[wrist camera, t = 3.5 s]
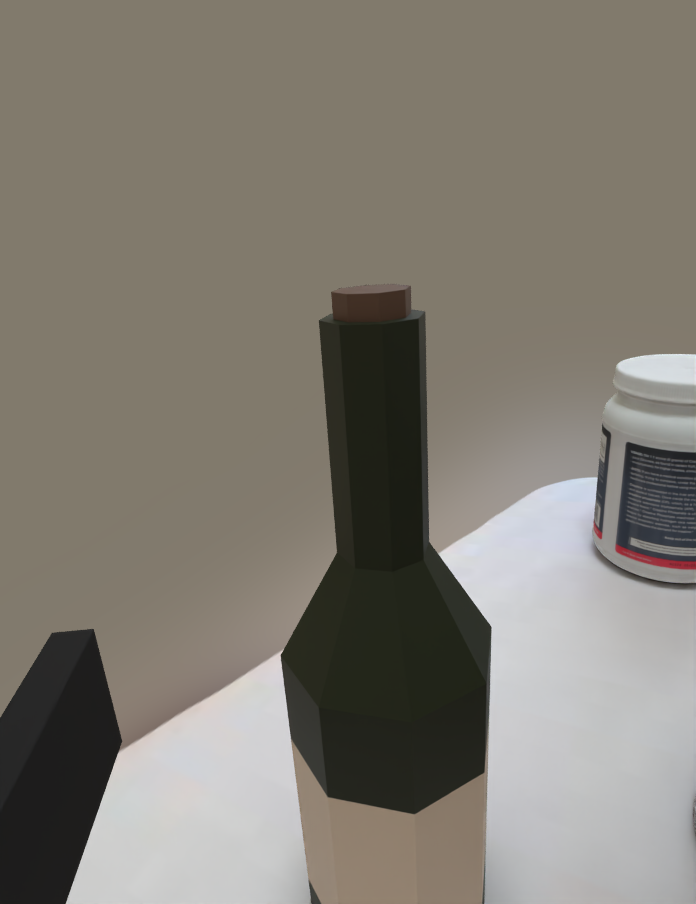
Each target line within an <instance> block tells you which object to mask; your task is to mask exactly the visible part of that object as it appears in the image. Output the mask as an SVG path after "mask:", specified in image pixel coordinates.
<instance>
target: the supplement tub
mask: <svg viewBox="0 0 696 904" xmlns="http://www.w3.org/2000/svg"><path fill="white" fill-rule="evenodd" d="M613 385H614V386H615V387H616V388H617V389H618V393H616V394H615V395H614V396H612V398H610V400H609V401H608V402H607V404H606V406H605V408H604V413H603V415H602V419H603V423H602V435H601V446H600V447H601V448H600V459H599V470H598V482H597V492H596V503H595V514H594V526H593V530H592V533H593V539H594V542H595V544H596V546H597V548H598V549H599V551H600V552H601V553H602V554H603V555H604V556H605V557H606V558H607V559H608V560H609V561H611V562H612V563H614V564H615V565H617V566H619V567H620V568H622V569H624V570H627V571H629V572H631V573H634V574H636V575H639V576H642V577H646V578H649V579H654V580H658V581H664V582H671V583H696V355H690V354H663V355H662V354H660V355H647V356H639V357H634V358H629V359H626V360H623V361H622V362H620V363H619V364H618V365H617V366H616V371H615V378H614V379H613Z"/></svg>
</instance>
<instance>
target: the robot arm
mask: <svg viewBox="0 0 696 904" xmlns="http://www.w3.org/2000/svg"><path fill="white" fill-rule="evenodd" d="M121 743H122V739H121V735H120V731H119V727H118V723H117V720H116V715H115V711H114V707H113V703H112V699H111V695H110V691H109V688H108V684H107V680H106V676H105V672H104V668H103V664H102V660H101V656H100V652H99V648H98V645H97V640H96V636H95V632H94V629H88V630H77V631H67V632H57V633H52V634H51V636H50V637H49V639H48V640H47V642H46V644H45V645H44V647H43V649H42V650H41V652H40V654H39V655H38V657H37V659H36V660H35V662H34V663H33V665H32V667H31V668H30V670H29V672H28V673H27V675H26V677H25V678H24V680H23V681H22V683H21V685H20V686H19V688H18V690H17V691H16V693H15V695H14V696H13V698H12V700H11V701H10V703H9V704H8V706H7V708H6V709H5V711H4V713H3V714H2V716H1V717H0V904H66V901H67V898H68V895H69V892H70V890H71V887H72V884H73V881H74V878H75V875H76V872H77V869H78V867H79V864H80V861H81V858H82V855H83V852H84V849H85V846H86V844H87V841H88V838H89V835H90V832H91V829H92V826H93V823H94V821H95V818H96V815H97V812H98V809H99V806H100V803H101V800H102V798H103V795H104V792H105V789H106V786H107V783H108V780H109V777H110V775H111V772H112V769H113V766H114V763H115V760H116V757H117V754H118V752H119V749H120V746H121ZM693 818H694V828H695V834H696V796H695V801H694V811H693Z"/></svg>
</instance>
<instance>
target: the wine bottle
mask: <svg viewBox="0 0 696 904" xmlns="http://www.w3.org/2000/svg"><path fill="white" fill-rule="evenodd" d="M331 294H332V309H333V314H330V315H328V316H326V317H324V318H323V319H321V320H319V327H320V340H321V351H322V352H321V353H322V366H323V378H324V391H325V404H326V416H327V429H328V441H329V455H330V468H331V480H332V493H333V505H334V519H335V532H336V544H337V554H336V556H335V557H334V560H333V561H332V563H331V565H330V567H329V569H328V570H327V572H326V574H325V576H324V577H323V579H322V581H321V583H320V585H319V587H318V589H317V590H316V592H315V594H314V596H313V597H312V599H311V601H310V603H309V605H308V607H307V608H306V610H305V612H304V614H303V616H302V618H301V619H300V621H299V623H298V625H297V627H296V629H295V630H294V632H293V634H292V636H291V638H290V640H289V641H288V643H287V645H286V647H285V648H284V650H283V652H282V654H281V662H282V670H283V678H284V686H285V694H286V702H287V710H288V718H289V726H290V734H291V742H292V750H293V758H294V766H295V774H296V782H297V790H298V798H299V806H300V814H301V822H302V830H303V838H304V846H305V855H306V863H307V871H308V879H309V887H310V895H311V903H312V904H484V890H485V852H486V814H487V776H488V738H489V700H490V662H491V626H490V624H489V623H488V622H487V620H486V619H485V618H484V616H483V615H482V614H481V612H480V611H479V609H478V608H477V607H476V605H475V604H474V603H473V601H472V600H471V598H470V597H469V596H468V594H467V593H466V592H465V590H464V589H463V588H462V586H461V585H460V583H459V582H458V581H457V579H456V578H455V577H454V575H453V574H452V572H451V571H450V570H449V568H448V567H447V566H446V564H445V563H444V562H443V560H442V559H441V557H440V556H439V555H438V553H437V552H436V551H435V549H434V548H433V547H432V545H431V544H430V542H429V512H428V454H427V453H428V451H427V391H426V331H425V312H424V311H418V310H411V286H407V285H397V284H386V285H385V284H384V285H363V286H354V287H346V288H339V289H337V290H335V291H332V292H331Z"/></svg>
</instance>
